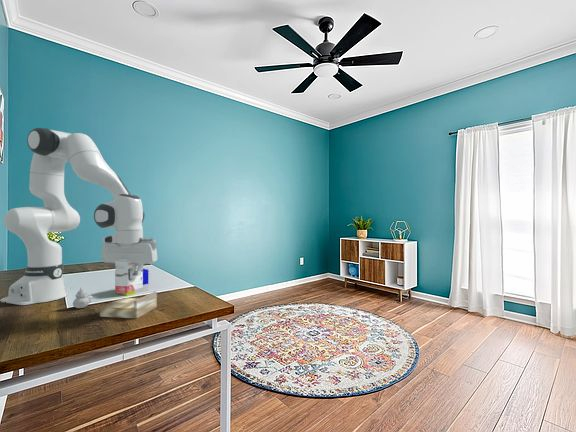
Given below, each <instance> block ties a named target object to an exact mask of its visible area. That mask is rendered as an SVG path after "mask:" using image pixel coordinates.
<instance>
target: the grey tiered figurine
mask: <svg viewBox="0 0 576 432" xmlns="http://www.w3.org/2000/svg"><path fill="white" fill-rule="evenodd" d="M92 299H93V295H88V294H87V292H86V290H84V289H82V288H81V287H80V288H79V290H78V291H77V293H76V294H75V299H74V300H73V302H72V306H73V307H74V308H75V309H83V308H86V307H88V306H89V304H90V303H92V302H93V301H92Z"/></svg>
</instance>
